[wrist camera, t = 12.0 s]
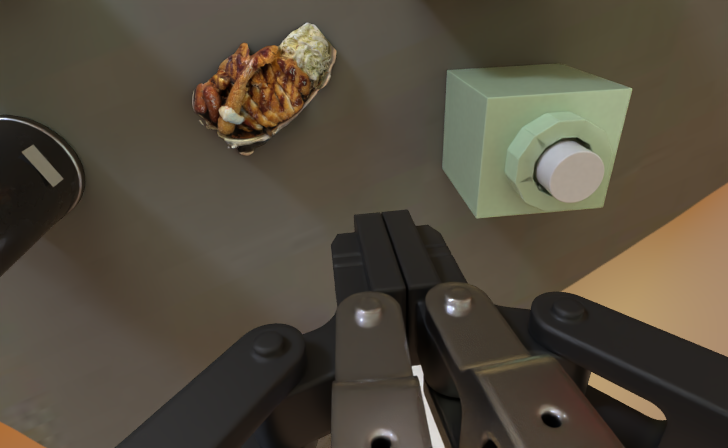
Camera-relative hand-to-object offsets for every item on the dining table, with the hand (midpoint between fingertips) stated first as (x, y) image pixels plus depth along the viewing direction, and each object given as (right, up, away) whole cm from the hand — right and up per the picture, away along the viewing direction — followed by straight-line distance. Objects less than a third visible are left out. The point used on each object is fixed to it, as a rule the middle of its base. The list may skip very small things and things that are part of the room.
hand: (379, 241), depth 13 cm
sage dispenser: (+12, +10, +28) cm, 32 cm away
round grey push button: (+13, +4, +18) cm, 22 cm away
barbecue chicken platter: (-9, +12, +24) cm, 29 cm away
